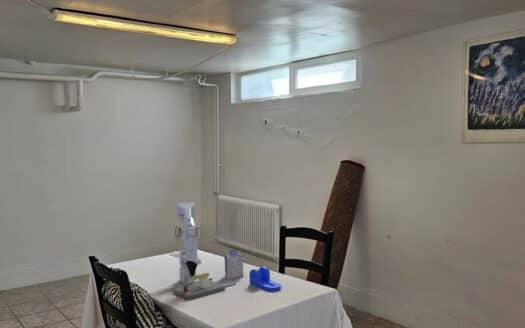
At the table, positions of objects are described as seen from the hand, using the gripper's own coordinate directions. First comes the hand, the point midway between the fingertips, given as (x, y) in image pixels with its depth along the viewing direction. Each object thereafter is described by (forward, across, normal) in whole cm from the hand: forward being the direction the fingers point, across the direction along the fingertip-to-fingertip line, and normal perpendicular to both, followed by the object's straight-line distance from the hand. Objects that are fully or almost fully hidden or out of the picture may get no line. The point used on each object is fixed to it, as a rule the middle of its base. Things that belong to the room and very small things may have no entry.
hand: (192, 275), depth 246 cm
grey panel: (+8, +5, +1) cm, 9 cm away
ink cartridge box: (+8, -4, +30) cm, 31 cm away
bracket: (+8, +23, +31) cm, 39 cm away
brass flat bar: (+5, +5, -1) cm, 7 cm away
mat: (+8, +4, +17) cm, 19 cm away
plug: (+8, +5, +5) cm, 11 cm away
